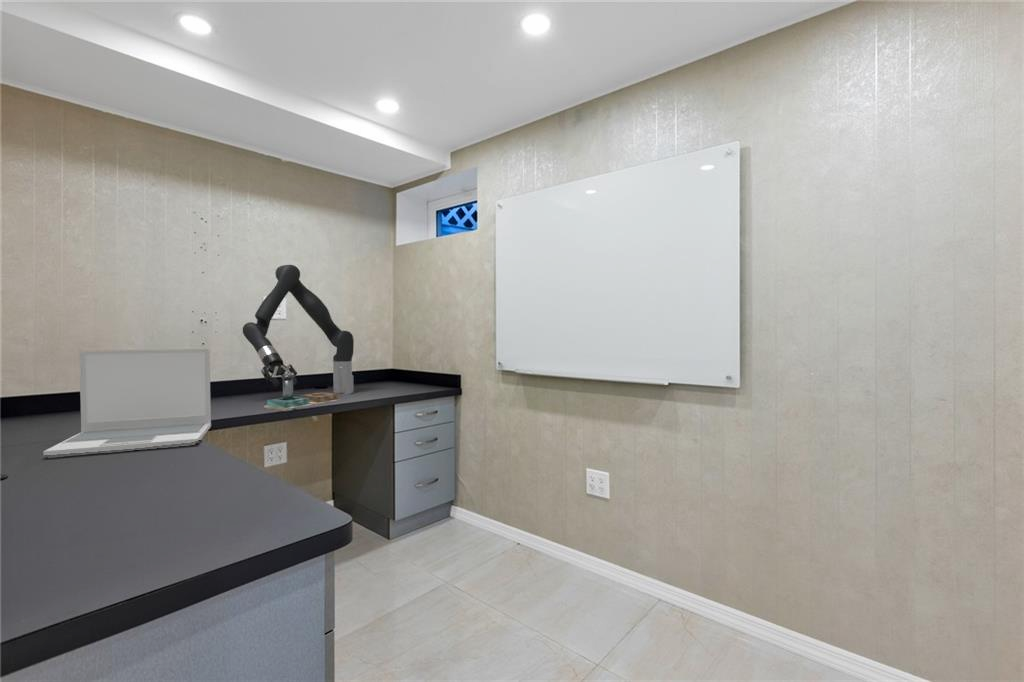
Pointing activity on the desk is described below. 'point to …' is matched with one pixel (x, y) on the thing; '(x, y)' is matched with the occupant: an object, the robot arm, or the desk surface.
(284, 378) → the steel pin
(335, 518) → the desk surface
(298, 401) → the dock board
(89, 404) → the laptop
